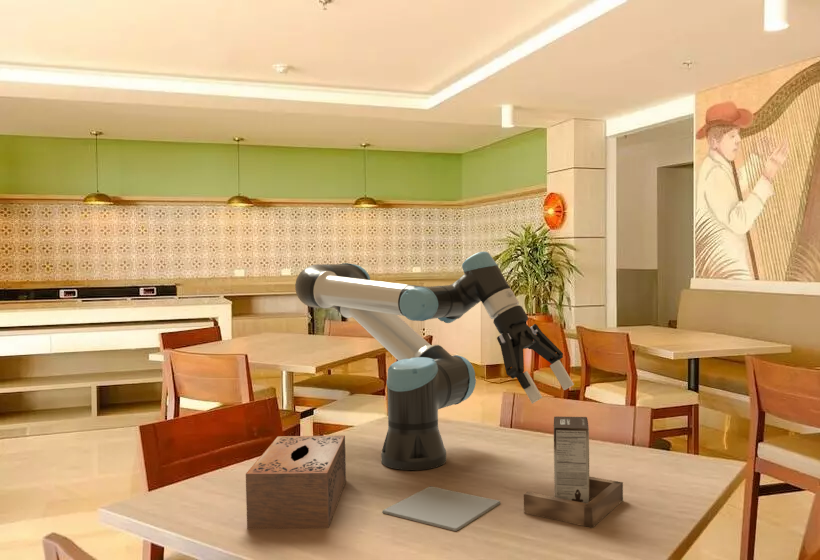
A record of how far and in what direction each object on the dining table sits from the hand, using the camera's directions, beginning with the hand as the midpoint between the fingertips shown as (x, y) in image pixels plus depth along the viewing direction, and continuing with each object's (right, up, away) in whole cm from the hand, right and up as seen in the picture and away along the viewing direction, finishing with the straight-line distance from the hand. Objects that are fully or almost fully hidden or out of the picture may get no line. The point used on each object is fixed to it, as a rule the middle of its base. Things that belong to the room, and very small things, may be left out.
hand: (553, 394), depth 152 cm
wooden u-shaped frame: (-1, -17, -23) cm, 29 cm away
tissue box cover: (-53, -19, -18) cm, 59 cm away
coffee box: (-1, -17, -23) cm, 29 cm away
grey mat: (-26, -18, -23) cm, 39 cm away
